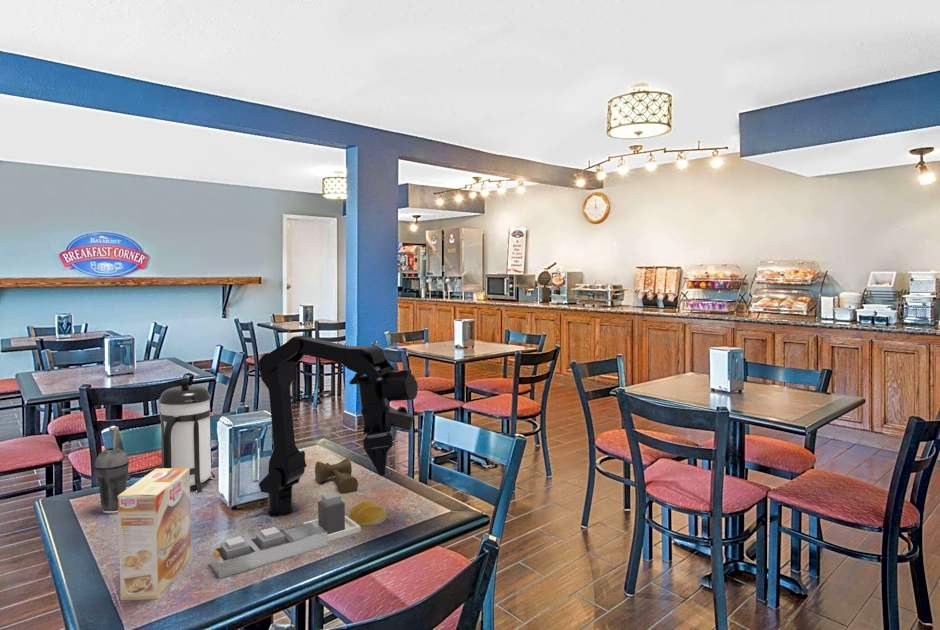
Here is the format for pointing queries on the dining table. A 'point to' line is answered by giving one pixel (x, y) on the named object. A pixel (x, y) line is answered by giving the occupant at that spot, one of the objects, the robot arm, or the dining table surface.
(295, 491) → the dining table surface
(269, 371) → the robot arm
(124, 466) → the beverage cup
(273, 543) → the twin plug
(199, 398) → the coffee press
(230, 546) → the twin plug
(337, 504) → the plug
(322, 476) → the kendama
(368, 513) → the bread roll
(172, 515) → the coffeecake box
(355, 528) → the tray
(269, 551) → the power strip
